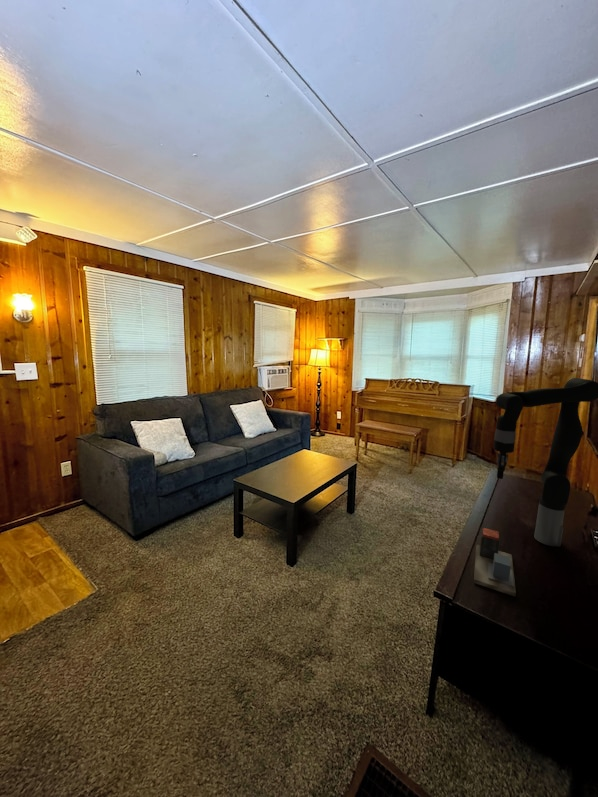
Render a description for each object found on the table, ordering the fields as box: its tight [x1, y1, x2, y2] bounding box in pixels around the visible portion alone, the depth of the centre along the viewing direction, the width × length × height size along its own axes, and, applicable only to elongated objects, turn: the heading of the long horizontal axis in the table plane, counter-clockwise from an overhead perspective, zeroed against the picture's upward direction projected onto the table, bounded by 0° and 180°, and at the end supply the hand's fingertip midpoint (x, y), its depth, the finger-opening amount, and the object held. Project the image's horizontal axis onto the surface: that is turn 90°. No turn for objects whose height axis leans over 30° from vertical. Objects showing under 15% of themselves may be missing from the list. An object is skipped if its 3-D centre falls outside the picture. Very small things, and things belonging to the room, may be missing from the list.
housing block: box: [493, 553, 511, 581], centre depth 122 cm, size 5×6×6 cm
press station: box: [473, 529, 517, 598], centre depth 126 cm, size 13×25×10 cm, turn 150°
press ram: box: [482, 527, 500, 542], centre depth 133 cm, size 6×6×7 cm
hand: (499, 478), depth 140 cm, fingers closed
